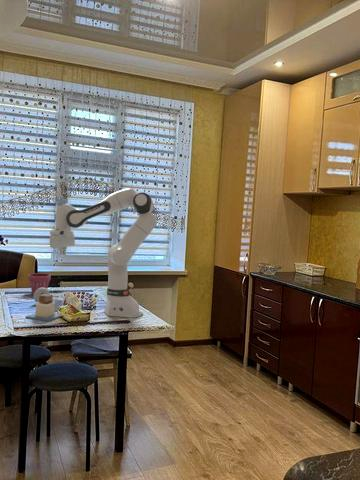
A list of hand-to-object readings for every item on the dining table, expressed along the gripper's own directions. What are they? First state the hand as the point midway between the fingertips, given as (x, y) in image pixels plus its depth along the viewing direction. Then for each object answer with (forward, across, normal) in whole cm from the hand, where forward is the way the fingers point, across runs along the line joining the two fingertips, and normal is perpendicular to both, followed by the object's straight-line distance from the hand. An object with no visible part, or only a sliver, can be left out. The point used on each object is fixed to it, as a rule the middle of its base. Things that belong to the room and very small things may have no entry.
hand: (62, 254), depth 264 cm
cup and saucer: (+31, +25, +8) cm, 41 cm away
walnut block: (+24, +25, +8) cm, 36 cm away
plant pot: (+31, -22, -33) cm, 51 cm away
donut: (+31, +1, -13) cm, 34 cm away
